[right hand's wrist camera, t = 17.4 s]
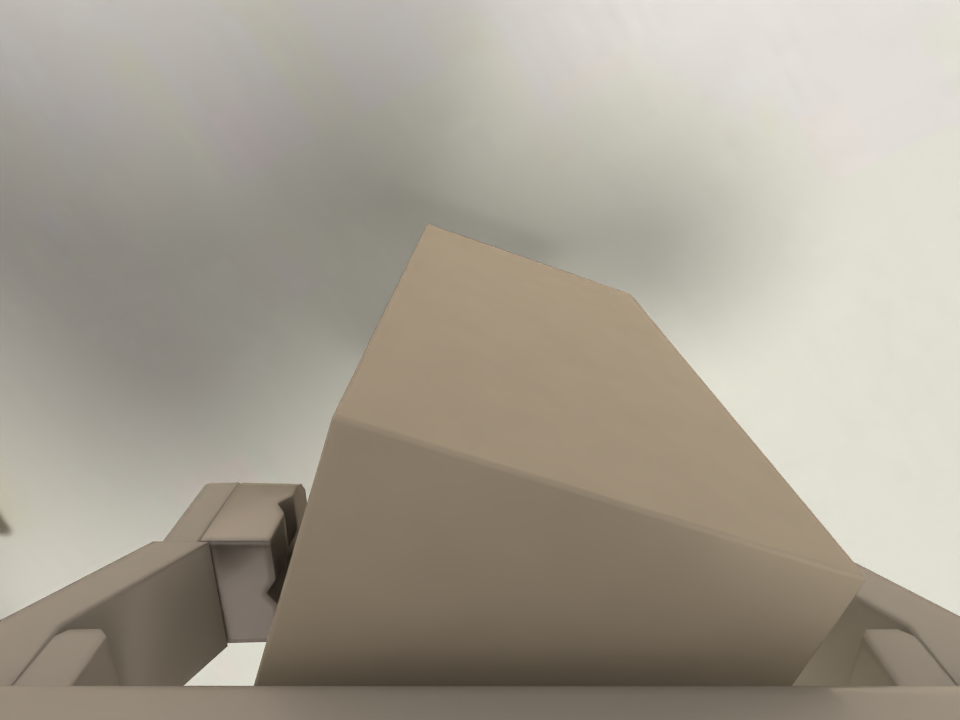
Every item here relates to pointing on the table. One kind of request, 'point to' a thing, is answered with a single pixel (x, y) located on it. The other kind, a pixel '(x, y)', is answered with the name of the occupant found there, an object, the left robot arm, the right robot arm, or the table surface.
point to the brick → (543, 504)
